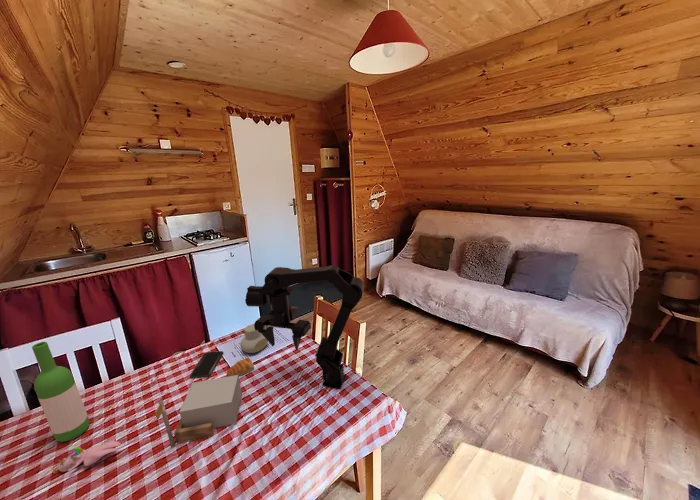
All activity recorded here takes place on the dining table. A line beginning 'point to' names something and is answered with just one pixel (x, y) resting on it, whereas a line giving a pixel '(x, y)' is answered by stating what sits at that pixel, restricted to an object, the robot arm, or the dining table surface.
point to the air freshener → (252, 340)
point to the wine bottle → (59, 396)
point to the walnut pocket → (181, 432)
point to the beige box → (212, 402)
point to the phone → (206, 365)
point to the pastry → (241, 367)
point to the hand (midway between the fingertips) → (285, 347)
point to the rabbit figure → (86, 456)
